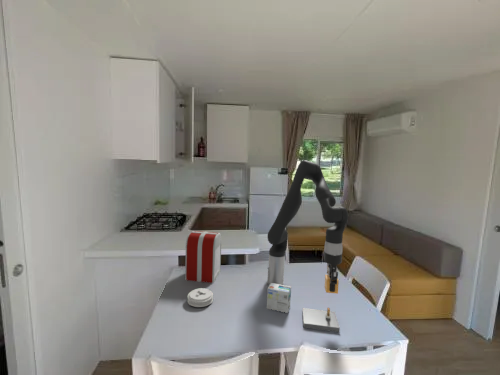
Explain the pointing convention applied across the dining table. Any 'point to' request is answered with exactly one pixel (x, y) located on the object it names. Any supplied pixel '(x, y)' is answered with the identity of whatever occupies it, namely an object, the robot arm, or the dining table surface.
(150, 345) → the dining table surface
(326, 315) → the pigtail
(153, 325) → the dining table surface
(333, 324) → the plate
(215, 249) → the red striped box
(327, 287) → the orange block
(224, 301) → the dining table surface
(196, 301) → the lid
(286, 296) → the light bulb box
